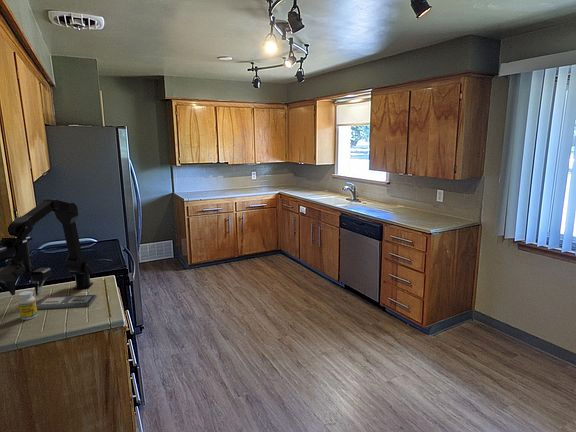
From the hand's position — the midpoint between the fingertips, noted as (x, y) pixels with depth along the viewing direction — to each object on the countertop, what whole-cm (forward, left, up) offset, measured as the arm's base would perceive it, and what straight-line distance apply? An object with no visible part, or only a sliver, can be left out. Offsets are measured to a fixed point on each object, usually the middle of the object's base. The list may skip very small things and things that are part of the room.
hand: (25, 295), depth 141 cm
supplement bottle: (0, 0, -9) cm, 9 cm away
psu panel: (-11, +9, -9) cm, 17 cm away
